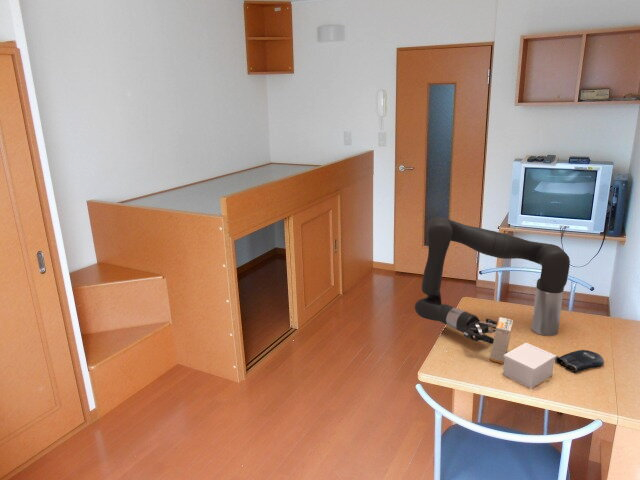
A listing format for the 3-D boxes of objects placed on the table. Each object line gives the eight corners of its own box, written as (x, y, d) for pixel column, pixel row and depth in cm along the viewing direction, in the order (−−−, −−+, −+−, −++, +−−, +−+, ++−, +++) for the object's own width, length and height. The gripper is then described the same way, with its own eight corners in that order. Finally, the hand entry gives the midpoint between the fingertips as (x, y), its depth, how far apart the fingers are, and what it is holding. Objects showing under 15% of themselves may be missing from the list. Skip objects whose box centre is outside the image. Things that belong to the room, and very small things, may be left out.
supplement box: (503, 364, 166) (511, 331, 162) (489, 360, 168) (495, 327, 163) (506, 352, 173) (513, 319, 168) (492, 348, 175) (499, 316, 170)
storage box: (523, 361, 168) (526, 342, 166) (553, 375, 160) (556, 355, 158) (501, 374, 161) (503, 354, 159) (531, 389, 153) (534, 369, 151)
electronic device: (577, 380, 160) (610, 364, 164) (576, 365, 158) (609, 349, 163) (554, 369, 168) (586, 354, 173) (552, 355, 167) (585, 340, 172)
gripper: (449, 317, 176) (488, 334, 164) (474, 306, 184) (514, 321, 172) (448, 336, 179) (487, 354, 166) (473, 324, 186) (512, 340, 174)
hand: (500, 337), depth 169 cm, fingers closed on supplement box, 8 cm apart
